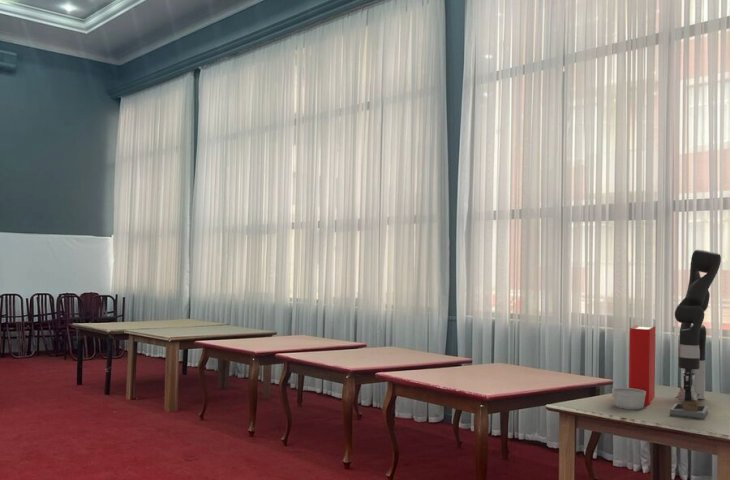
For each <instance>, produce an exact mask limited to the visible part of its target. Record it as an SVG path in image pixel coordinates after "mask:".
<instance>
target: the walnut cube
mask: <svg viewBox="0 0 730 480" xmlns="http://www.w3.org/2000/svg"><path fill="white" fill-rule="evenodd" d="M698 405H699V399H698V398H694V402H685V401H683V410H684V411H693V412H698Z"/></svg>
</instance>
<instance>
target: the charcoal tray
mask: <svg viewBox="0 0 730 480" xmlns="http://www.w3.org/2000/svg"><path fill="white" fill-rule="evenodd" d="M708 413H709V406H708V405H700V404H698V412H693V411H684V410H683V403H682V402H681V403H680V402H675V403H674V405H672V406H671V408H670V409H669V416H670V417H677V418H685V419H686V418H687V419H695V420H701V421H702V420H705V419H706V417H707V415H708Z"/></svg>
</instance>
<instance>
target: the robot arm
mask: <svg viewBox="0 0 730 480" xmlns="http://www.w3.org/2000/svg"><path fill="white" fill-rule="evenodd" d="M690 258H691V260H690V267H689V279H688V284H687V289H686V294H685V297H684V298H683V299H682V300H681V302H680V303H678V305H677V307H675V311H674V318H675V320H676V321H677V322H678V323H680V328H679V333H678V334H679V336H678V337H679V347H678V368H680V369H682V386H683V385H684V390H685V401H691V391H692V386H694V392H695V393H696V394H700V395H698V396H697V398H698V400H705V396H706V395H705V394H706V345H707V343H706V342H707V328H706V326H705V325H704V324H703V323H704V318H705V312H706V310H707V309H708V306H709V304H710V303H709V301H710V297H711V295H710V290H709V289H710V287H711V285H712V283H713V282H714V280H715V278H716V276H717V274H718V272H719V270H720V266H721V263H722V255H721V254H720V253H718V252H714V251H710V250H703V249H695V250H693V252H692V255H691V257H690ZM700 273H705V274H704V275H703V276H701V274H700ZM687 385H689V387H686V386H687Z"/></svg>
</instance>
